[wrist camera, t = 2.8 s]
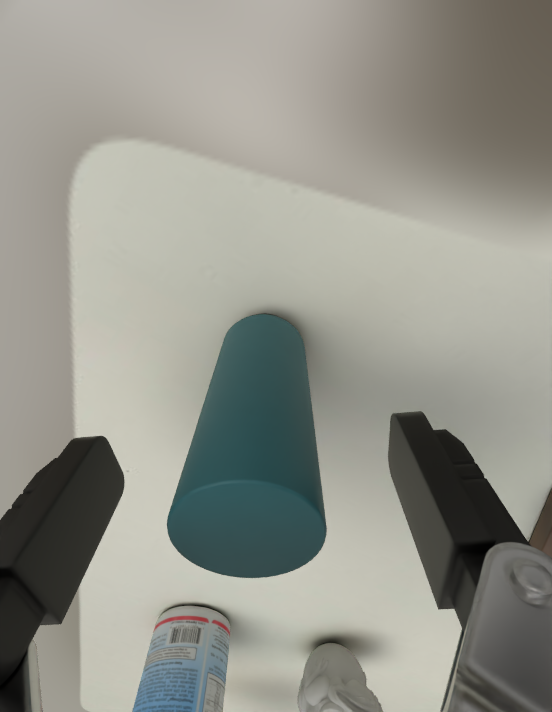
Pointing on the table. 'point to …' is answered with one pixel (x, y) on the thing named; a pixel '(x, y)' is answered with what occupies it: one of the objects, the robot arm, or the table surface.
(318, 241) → the table surface
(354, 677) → the grey sculpted head figurine
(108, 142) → the table surface
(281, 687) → the table surface
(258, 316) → the teal cylinder
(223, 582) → the table surface
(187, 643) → the pill bottle
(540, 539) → the wooden board with hole
